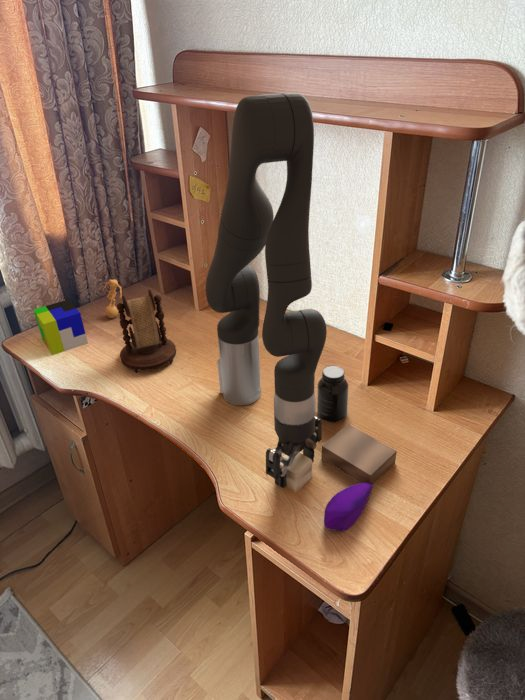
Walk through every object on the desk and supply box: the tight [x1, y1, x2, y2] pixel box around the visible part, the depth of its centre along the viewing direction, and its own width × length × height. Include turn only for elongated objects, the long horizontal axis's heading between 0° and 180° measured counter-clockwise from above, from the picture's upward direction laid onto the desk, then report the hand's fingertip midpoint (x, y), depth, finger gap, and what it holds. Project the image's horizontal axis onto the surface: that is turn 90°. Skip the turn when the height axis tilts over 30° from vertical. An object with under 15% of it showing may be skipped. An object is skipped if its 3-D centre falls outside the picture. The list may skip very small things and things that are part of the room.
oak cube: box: [280, 451, 313, 493], centre depth 107 cm, size 5×5×5 cm
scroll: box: [116, 288, 177, 374], centre depth 140 cm, size 15×15×20 cm
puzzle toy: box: [33, 298, 89, 356], centre depth 152 cm, size 10×10×10 cm
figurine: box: [102, 279, 123, 319], centre depth 162 cm, size 8×6×12 cm
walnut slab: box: [320, 423, 398, 486], centre depth 111 cm, size 12×9×4 cm
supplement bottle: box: [316, 365, 349, 423], centre depth 121 cm, size 7×7×12 cm
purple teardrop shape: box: [323, 482, 373, 532], centre depth 99 cm, size 5×5×15 cm
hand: (294, 473), depth 107 cm, fingers open, 8 cm apart
